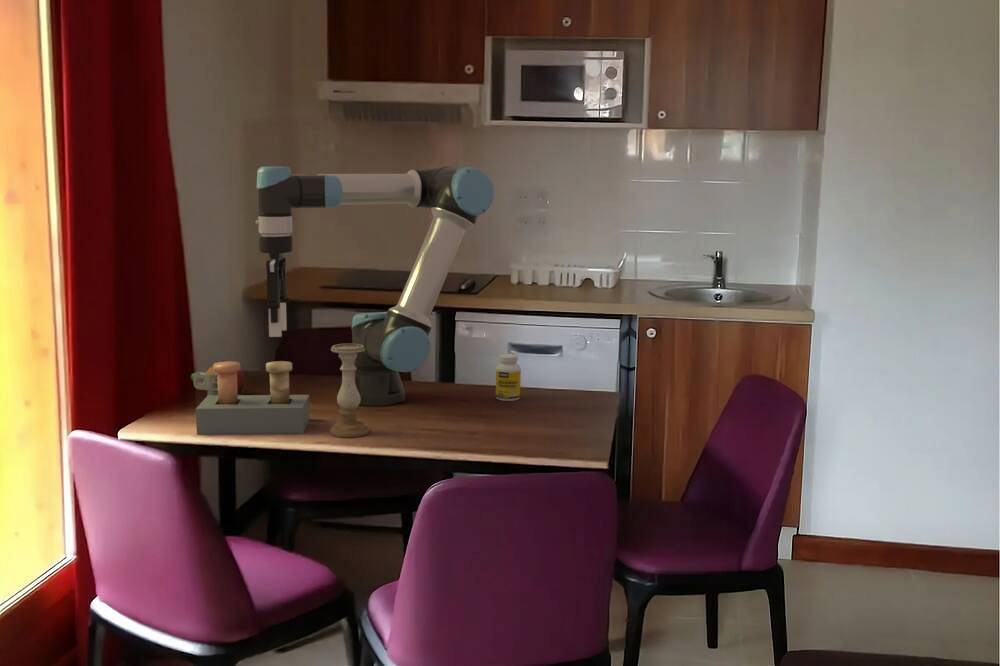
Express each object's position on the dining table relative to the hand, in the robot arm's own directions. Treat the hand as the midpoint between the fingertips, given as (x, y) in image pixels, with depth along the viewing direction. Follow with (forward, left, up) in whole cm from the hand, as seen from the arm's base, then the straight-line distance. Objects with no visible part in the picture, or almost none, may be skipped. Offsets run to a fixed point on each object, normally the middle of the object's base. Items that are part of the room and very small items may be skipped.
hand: (278, 333), depth 236 cm
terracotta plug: (+12, 0, -17) cm, 21 cm away
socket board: (+6, 0, -22) cm, 23 cm away
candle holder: (-16, +7, -22) cm, 29 cm away
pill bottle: (-56, -26, -22) cm, 65 cm away
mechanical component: (+18, -13, -22) cm, 32 cm away
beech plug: (0, 0, -17) cm, 17 cm away
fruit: (+18, -29, -22) cm, 41 cm away
